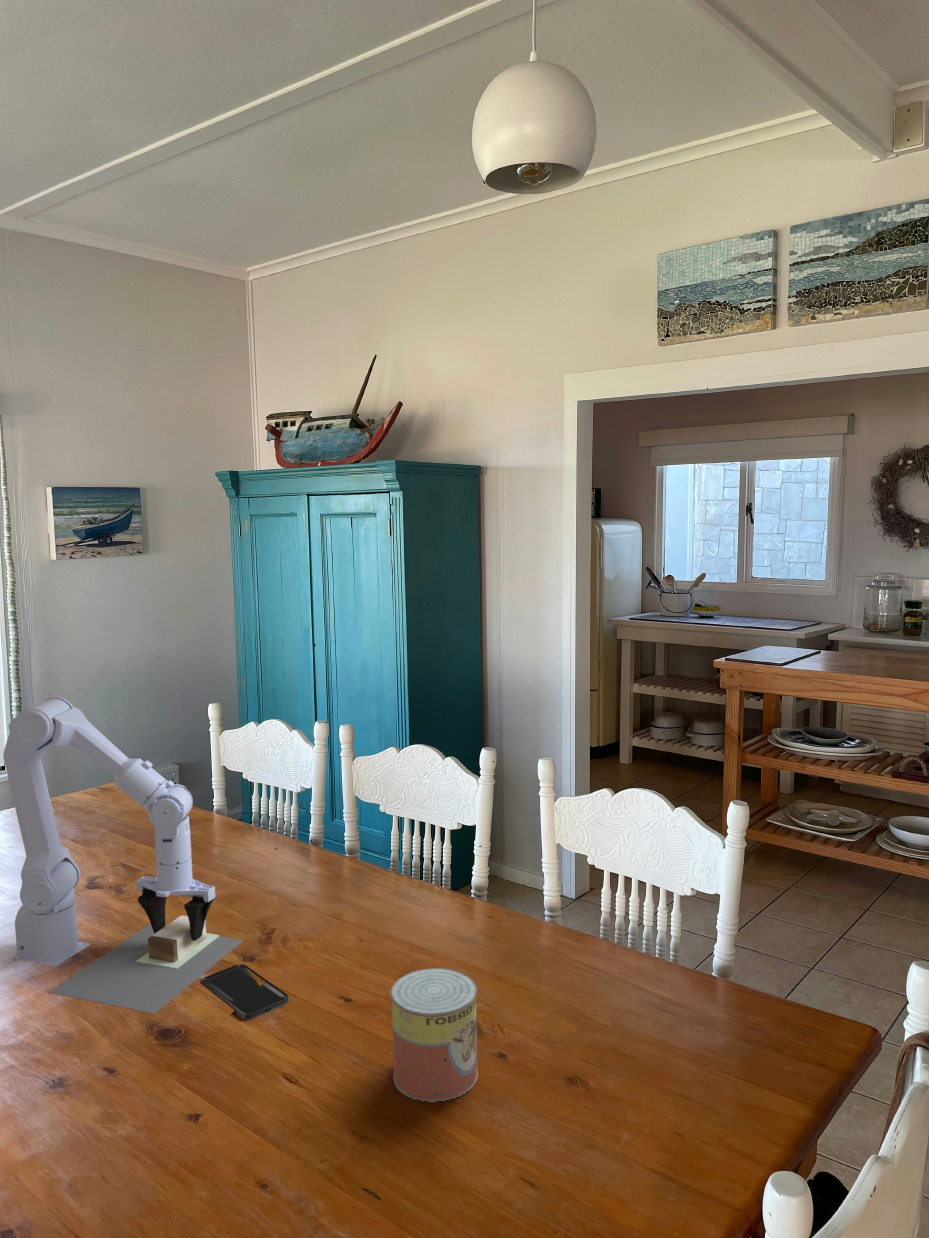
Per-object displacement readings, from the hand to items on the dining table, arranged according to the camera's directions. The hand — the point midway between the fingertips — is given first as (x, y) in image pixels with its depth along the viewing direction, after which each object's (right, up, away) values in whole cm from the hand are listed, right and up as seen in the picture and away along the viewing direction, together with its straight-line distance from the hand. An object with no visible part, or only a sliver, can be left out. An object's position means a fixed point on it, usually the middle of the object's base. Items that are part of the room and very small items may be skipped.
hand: (178, 934), depth 152 cm
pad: (0, -3, 0) cm, 2 cm away
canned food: (+45, -7, -34) cm, 57 cm away
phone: (+14, -5, -13) cm, 20 cm away
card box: (0, -2, 0) cm, 2 cm away
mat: (-3, -4, -5) cm, 7 cm away
